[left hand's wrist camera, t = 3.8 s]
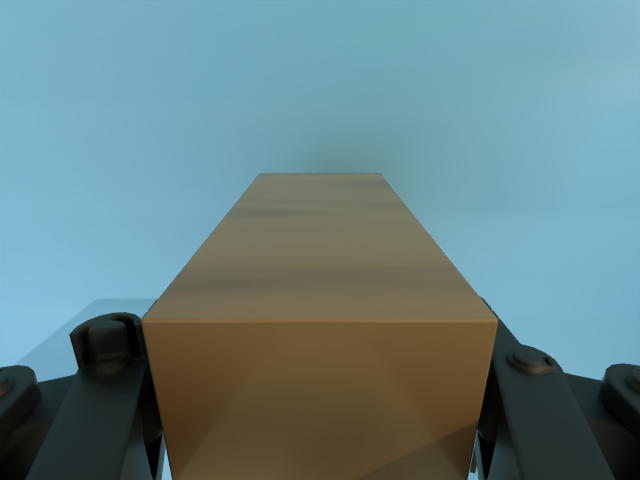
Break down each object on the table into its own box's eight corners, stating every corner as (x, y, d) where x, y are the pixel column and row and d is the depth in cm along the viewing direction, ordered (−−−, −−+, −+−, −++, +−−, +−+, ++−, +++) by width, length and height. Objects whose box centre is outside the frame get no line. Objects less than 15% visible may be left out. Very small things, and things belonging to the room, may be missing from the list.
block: (373, 289, 19) (451, 565, 8) (266, 289, 19) (187, 565, 8) (380, 173, 16) (500, 319, 6) (259, 173, 16) (138, 319, 6)
